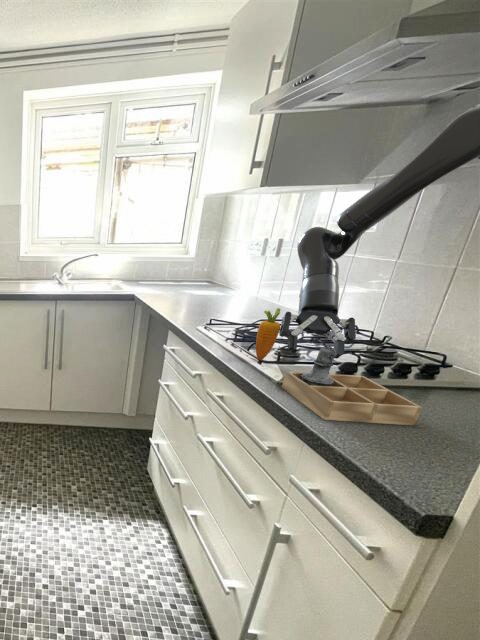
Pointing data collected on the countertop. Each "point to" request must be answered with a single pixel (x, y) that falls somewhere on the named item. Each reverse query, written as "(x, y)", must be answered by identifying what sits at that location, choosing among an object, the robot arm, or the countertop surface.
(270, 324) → the carrot
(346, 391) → the wooden compartment tray
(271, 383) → the countertop surface
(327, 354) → the grey tall piece
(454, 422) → the countertop surface
